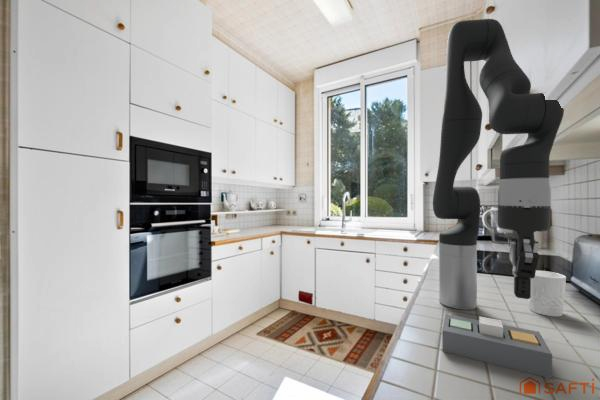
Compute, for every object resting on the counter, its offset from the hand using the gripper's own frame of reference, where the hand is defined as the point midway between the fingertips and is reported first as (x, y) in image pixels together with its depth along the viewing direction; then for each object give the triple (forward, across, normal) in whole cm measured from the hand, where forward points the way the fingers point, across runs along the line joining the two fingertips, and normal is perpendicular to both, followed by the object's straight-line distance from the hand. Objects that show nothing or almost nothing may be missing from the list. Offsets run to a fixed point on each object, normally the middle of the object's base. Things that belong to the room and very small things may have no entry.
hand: (521, 297), depth 50 cm
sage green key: (+9, 0, -10) cm, 13 cm away
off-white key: (+8, 0, -5) cm, 9 cm away
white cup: (+12, -31, +9) cm, 34 cm away
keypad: (+11, 0, -5) cm, 12 cm away
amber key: (+9, 0, 0) cm, 9 cm away
